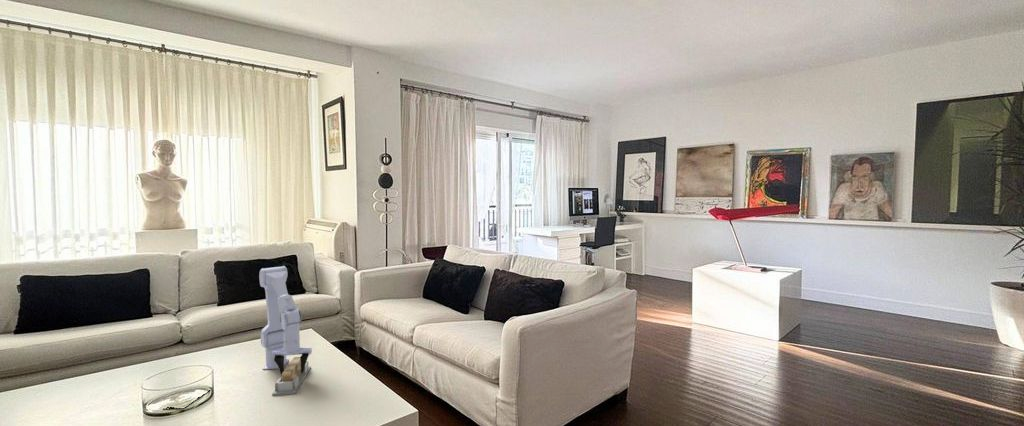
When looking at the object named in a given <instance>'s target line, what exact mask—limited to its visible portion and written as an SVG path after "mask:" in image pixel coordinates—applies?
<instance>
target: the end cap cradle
mask: <svg viewBox="0 0 1024 426" xmlns="http://www.w3.org/2000/svg"><path fill="white" fill-rule="evenodd" d="M311 369H312V366H311V365H310V366H309V361H306V364H305V369H304V372H302V373H300V375H299V376H297V377H295V379H294V380H293V381H287V382H282V377H279V378H277V380H276V382H275V383H274V391H273V392H272V393H271V396H272V397H275V396H284V395H285V396H287V395H295V394H297V391H298V390H299V388H300V387H301V386H302V384H303V382H304V380H305V379H306V377H307V375H308V373H309V372H310V371H311Z"/></svg>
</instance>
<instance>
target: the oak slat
mask: <svg viewBox="0 0 1024 426" xmlns="http://www.w3.org/2000/svg"><path fill="white" fill-rule="evenodd" d="M300 357H301V356H294V357H293V358H292V360H291V361H290V362H289V364H288V365H287V366H286V368H284V371H283V373H282V374H281V378H282V382H287V381H293V380H294V379H295V377H297V376H299V375H300V373H301V360H300Z"/></svg>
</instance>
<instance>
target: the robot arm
mask: <svg viewBox="0 0 1024 426" xmlns="http://www.w3.org/2000/svg"><path fill="white" fill-rule="evenodd" d="M258 275H259V276H258V278H259V279H258V280H259V285H260V287H261V288H264V292H265V302H266V303H265V304H266V317H267V324H266V325H265V326H264V327H263V328H262V329H260V345H261V346H262V348H264V349H265V366H263V367H262V370H264V371H265V370H275V369H277V370H279V374H280V375H282V373H283V371H284V370H285V366H286V364H287V363H288V362H289V361H290V359H289V358H287V357H288V356H293V355H295V356H296V355H299V357H300V360H301V373H302V372H304V369H305V364H306V362H308V361H307V360H308V358H309V356H310V355H311V354H312V353H313V348H312V347H301V346H300V345H301V342H300V340H301V339H300V338H301V337H300V323H301V322H302V318H303V317H302V312H301V310H300V308H299V307H298V306H296V304H295V301H294V299H293V296H292V295H291V294H289V292H288V289H287V283H286V282H287V279H288V268H287V267H286V266H285V265H282V266H274V267H265V268H264V267H263V268H261V269H260V270H259V274H258ZM280 314H281V315H280Z"/></svg>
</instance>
